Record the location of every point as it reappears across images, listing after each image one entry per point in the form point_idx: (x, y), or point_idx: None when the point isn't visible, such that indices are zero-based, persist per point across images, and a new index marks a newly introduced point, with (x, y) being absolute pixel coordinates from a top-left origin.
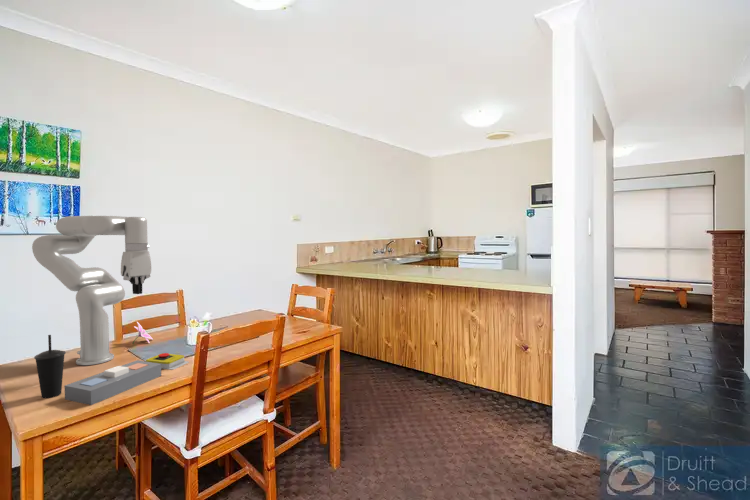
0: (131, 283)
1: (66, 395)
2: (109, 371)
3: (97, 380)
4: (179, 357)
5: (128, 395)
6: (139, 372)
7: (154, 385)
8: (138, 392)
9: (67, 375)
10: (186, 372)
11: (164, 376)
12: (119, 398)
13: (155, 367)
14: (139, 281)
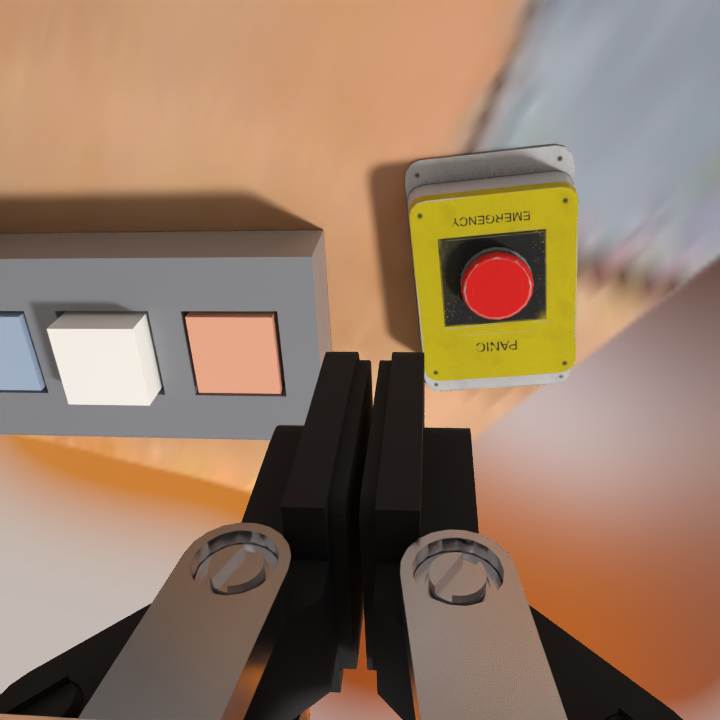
0: (205, 557)
1: None
2: (59, 367)
3: (8, 355)
4: (526, 373)
5: (118, 447)
6: (189, 437)
7: (238, 461)
8: (157, 459)
9: None
10: None
11: None
12: (83, 439)
13: None
14: (399, 702)
